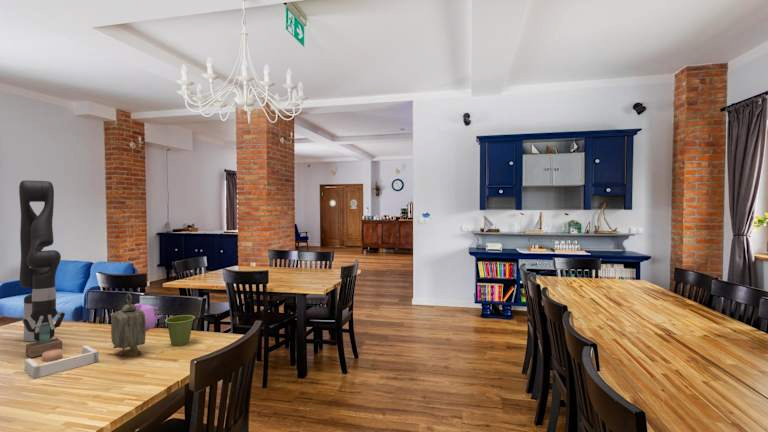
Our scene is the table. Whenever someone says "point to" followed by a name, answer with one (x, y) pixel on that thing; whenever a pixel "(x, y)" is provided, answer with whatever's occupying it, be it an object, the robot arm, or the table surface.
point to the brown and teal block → (43, 343)
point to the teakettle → (148, 315)
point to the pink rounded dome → (52, 355)
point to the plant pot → (180, 329)
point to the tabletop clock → (128, 327)
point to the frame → (62, 363)
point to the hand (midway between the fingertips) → (44, 339)
